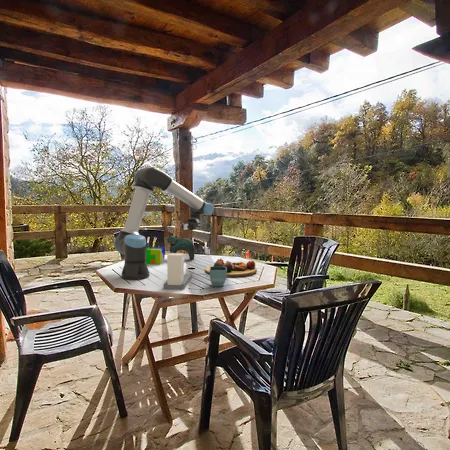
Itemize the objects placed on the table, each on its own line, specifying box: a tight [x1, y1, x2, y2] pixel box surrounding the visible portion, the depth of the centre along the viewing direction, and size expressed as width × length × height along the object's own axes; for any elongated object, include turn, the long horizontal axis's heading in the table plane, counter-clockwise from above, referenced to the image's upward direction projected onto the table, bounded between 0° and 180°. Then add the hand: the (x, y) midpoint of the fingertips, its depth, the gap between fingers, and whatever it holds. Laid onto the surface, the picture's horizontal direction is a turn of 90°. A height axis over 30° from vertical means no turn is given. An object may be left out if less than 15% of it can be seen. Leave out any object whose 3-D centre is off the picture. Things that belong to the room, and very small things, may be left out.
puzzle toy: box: [146, 246, 166, 265], centre depth 219 cm, size 10×10×10 cm
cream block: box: [166, 252, 185, 285], centre depth 160 cm, size 7×6×15 cm
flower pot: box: [209, 267, 227, 287], centre depth 164 cm, size 9×9×9 cm
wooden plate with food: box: [204, 258, 257, 278], centre depth 197 cm, size 32×32×8 cm
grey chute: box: [163, 272, 193, 290], centre depth 168 cm, size 10×24×3 cm, turn 176°
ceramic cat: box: [167, 231, 196, 261], centre depth 234 cm, size 20×6×20 cm, turn 83°
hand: (184, 227), depth 184 cm, fingers closed
